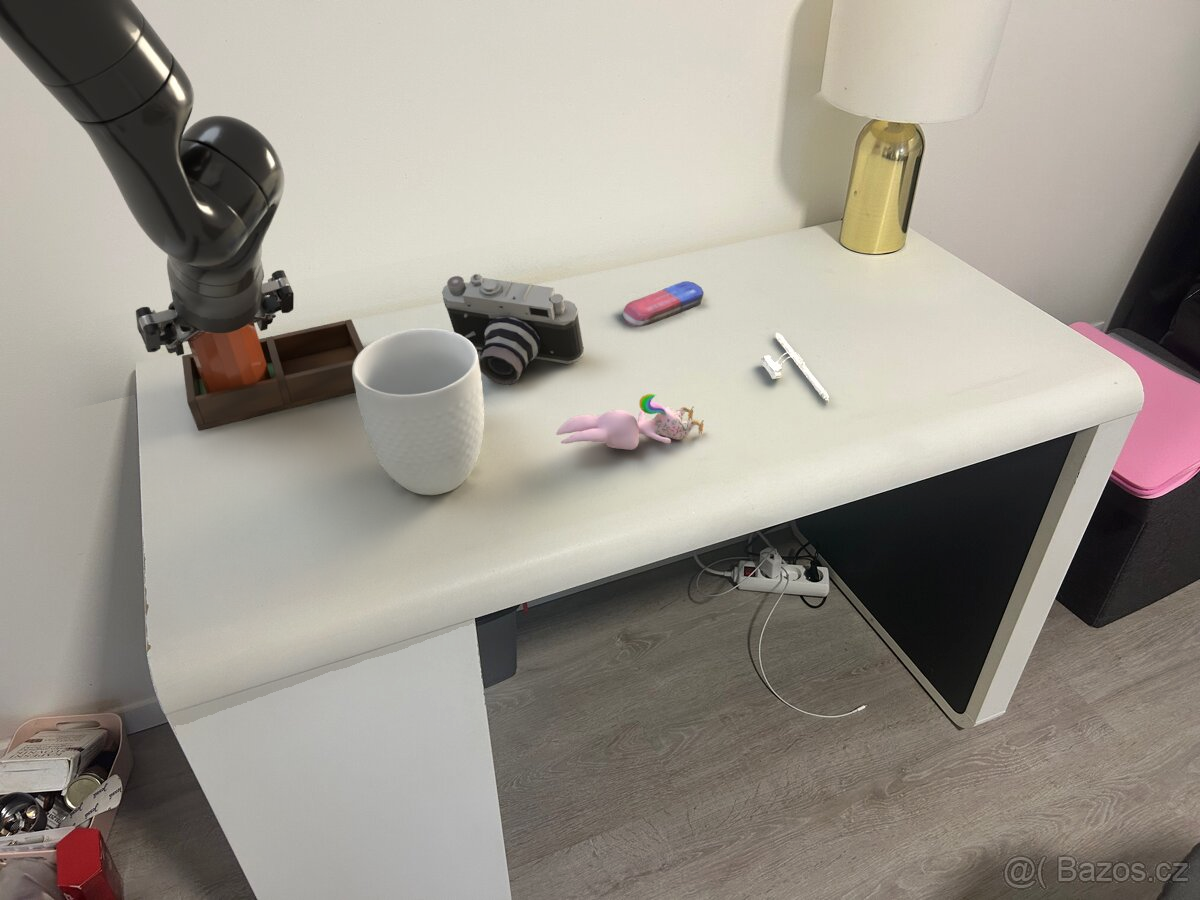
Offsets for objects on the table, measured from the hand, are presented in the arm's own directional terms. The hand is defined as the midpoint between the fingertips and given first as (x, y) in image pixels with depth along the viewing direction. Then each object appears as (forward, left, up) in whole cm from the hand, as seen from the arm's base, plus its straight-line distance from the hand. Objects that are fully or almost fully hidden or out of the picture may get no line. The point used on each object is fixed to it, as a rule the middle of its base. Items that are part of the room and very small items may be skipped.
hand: (219, 334), depth 89 cm
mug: (+17, -22, -7) cm, 29 cm away
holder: (+5, -1, -7) cm, 9 cm away
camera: (+29, -8, -7) cm, 31 cm away
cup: (0, -1, -6) cm, 6 cm away
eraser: (+51, -4, -8) cm, 51 cm away
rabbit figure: (+35, -27, -7) cm, 45 cm away
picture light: (+57, -22, -7) cm, 61 cm away
